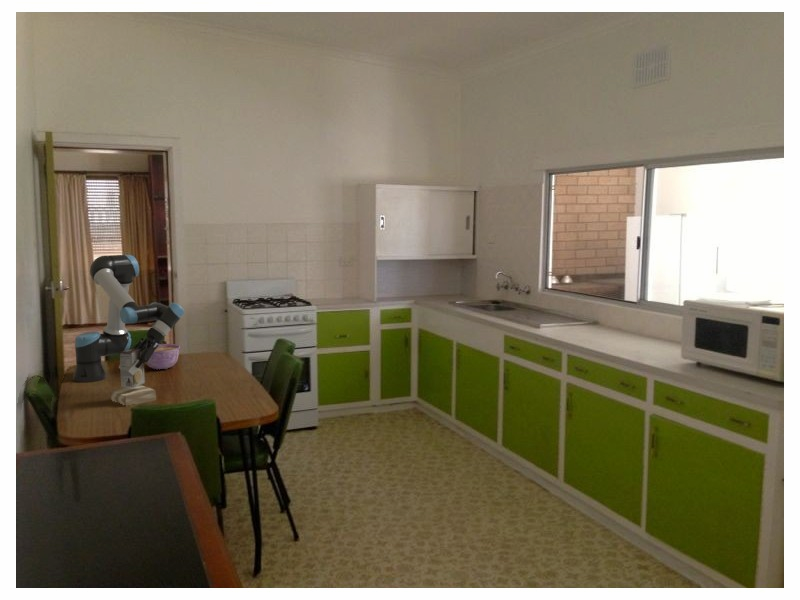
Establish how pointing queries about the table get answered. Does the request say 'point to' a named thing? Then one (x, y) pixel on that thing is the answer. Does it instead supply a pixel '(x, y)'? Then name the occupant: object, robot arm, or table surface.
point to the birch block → (133, 395)
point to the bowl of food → (164, 356)
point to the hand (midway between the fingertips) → (125, 371)
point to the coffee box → (126, 363)
